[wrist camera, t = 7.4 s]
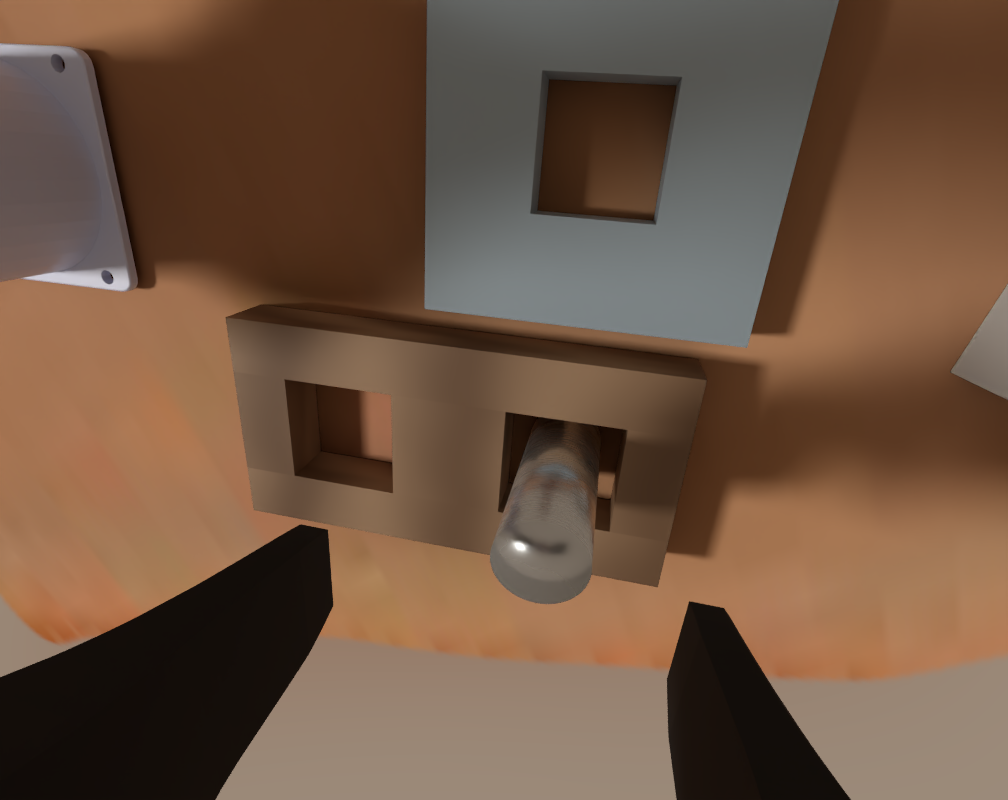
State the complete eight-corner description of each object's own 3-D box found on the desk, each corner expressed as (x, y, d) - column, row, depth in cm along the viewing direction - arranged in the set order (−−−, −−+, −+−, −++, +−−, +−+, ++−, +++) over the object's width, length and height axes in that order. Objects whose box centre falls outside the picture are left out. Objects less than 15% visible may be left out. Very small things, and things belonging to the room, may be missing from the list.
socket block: (438, 299, 19) (424, 308, 17) (445, -61, 15) (427, -86, 13) (736, 333, 17) (747, 347, 16) (836, -58, 13) (861, -85, 12)
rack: (282, 484, 23) (253, 510, 22) (260, 304, 20) (225, 317, 18) (654, 551, 21) (657, 587, 19) (698, 359, 18) (707, 380, 16)
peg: (528, 464, 21) (487, 593, 14) (533, 402, 19) (492, 512, 13) (596, 474, 20) (585, 612, 14) (605, 412, 19) (598, 531, 13)
